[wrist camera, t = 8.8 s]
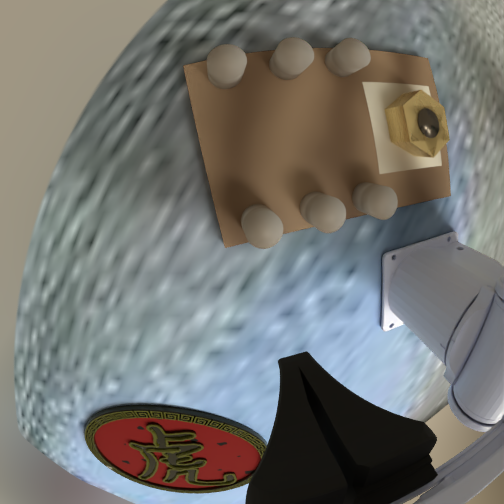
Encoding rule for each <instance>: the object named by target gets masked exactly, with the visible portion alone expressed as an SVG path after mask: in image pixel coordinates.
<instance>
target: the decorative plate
mask: <svg viewBox="0 0 504 504" xmlns="http://www.w3.org/2000/svg"><path fill="white" fill-rule="evenodd" d="M84 436H85V440H86V443H87V446H88V447H89V449H90V451H91V452H92V453H93V454H94V456H95V457H96V458H97V459H98V460H100V462H102V463H103V464H104V465H105V466H107V467H108V468H109V469H111V470H113V471H114V472H116V473H117V474H120V475H121V476H123V477H125V478H127V479H129V480H132V481H134V482H137V483H139V484H142V485H145V486H146V485H147V486H148V487H152V488H156V489H160V490H166V491H171V492H179V493H212V492H220V491H226V490H230V489H234V488H237V487H240V486H243V485H246V484H248V483H249V482H250V480H251V478H252V476H253V474H254V473H255V471H256V469H257V467H258V465H259V463H260V461H261V459H262V456H263V454H264V452H265V449H266V447H267V442H266V441H265V440H264V438H263V437H262V436H260V435H259V434H258V433H256V432H255V431H253V430H252V429H250V428H248V427H246V426H244V425H242V424H240V423H238V422H235V421H233V420H230V419H227V418H224V417H221V416H217V415H214V414H210V413H206V412H201V411H196V410H191V409H185V408H179V407H171V406H161V405H124V406H117V407H112V408H108V409H105V410H102V411H100V412H98V413H96V414H95V415H93V416H92V417H91V418H90V419H89V421H88V422H87V425H86V428H85V432H84Z"/></svg>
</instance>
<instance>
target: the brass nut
mask: <svg viewBox="0 0 504 504" xmlns="http://www.w3.org/2000/svg"><path fill="white" fill-rule="evenodd" d="M384 110H385V115H386V120H387V125H388V130H389V135H390V141H391V143H393V144H395V145H396V146H398V147H400V148H401V149H403V150H405V151H406V152H408V153H410V154H411V155H413V156H417V157H431V158H434V157H435V156H436V155H437V153H438V152H439V151H440V150H441V149H442V148H443V147H444V145H445V144H446V143H447V142H448V141H449V140H450V139H449V132H448V126H447V120H446V115H445V110H444V107H443V106H442V105H441V104H439V103H438V102H437V101H436V100H434V99H433V98H432V97H431V96H429V95H428V94H427V93H425V92H424V91H423V90H417V91H412V92H408V93H404V94H402V95H401V96H399V97H398V98H397V99H396V100H395V101H394V102H392V103H391V104H390V105H389V106H388V107H387V108H385V109H384Z"/></svg>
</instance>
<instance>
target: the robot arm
mask: <svg viewBox="0 0 504 504" xmlns="http://www.w3.org/2000/svg"><path fill="white" fill-rule="evenodd" d="M447 239H448V240H447ZM393 255H394V257H393V259H392V256H393ZM382 268H383V291H382V321H381V329H382V330H383V331H388V330H391V329H393V328H395V327H398V326H400V325H403V324H405V325H406V326H407V327H408V328H409V329H410V330H411V331H412V332H413V333H414V334H415V335H416V336H417V337H418V338H419V339H420V340H421V341H422V342H423V343H424V344H425V345H426V346H427V347H428V348H429V349H430V350H431V351H432V352H433V353H434V354H435V355H436V356H437V357H438V358H439V359H440V360H441V361H442V362H443V363H444V364H445V365H446V371H445V373H444V377H445V378H446V379H447V381H448V382H449V383H450V384H451V385H450V387H449V390H448V402H449V405H450V408H451V410H452V412H453V413H454V415H455V416H456V417H457V419H458V420H459V421H460V422H461V423H463V424H464V425H465V426H467V427H469V428H471V429H473V430H476V431H481V432H486V433H485V434H483V435H482V436H481V437H480V438H478V439H477V440H476V441H475V442H474V443H472V444H471V445H470V446H468V447H467V448H466V449H464V450H463V451H462V452H460V453H459V454H457V455H456V456H455V457H453V458H452V459H450V460H449V461H447V462H446V463H444V464H443V465H441V466H440V467H438V468H436V469H434V467H433V466H432V465H431V462H432V459H431V457H430V455H429V453H430V452H431V450H432V449H433V447H434V445H435V444H436V441H437V437H436V436H435V434H434V433H433V432H432V430H431V429H430V428H429V427H428V426H427V425H426V424H425V423H424V422H421V421H417V420H413V419H409V418H406V417H403V416H400V415H397V414H394V413H391V412H389V411H387V410H385V409H382V408H380V407H378V406H376V405H374V404H372V403H370V402H368V401H366V400H364V399H363V398H361V397H359V396H358V395H356V394H355V393H353V392H352V391H350V390H349V389H347V388H346V387H345V386H343V385H342V384H341V383H339V382H338V381H337V380H336V379H335V378H333V377H332V376H331V375H330V374H329V373H328V372H327V371H325V370H324V369H323V368H322V367H321V366H320V365H319V364H318V363H317V362H316V361H315V359H314V358H313V357H312V356H311V355H310V354H309V353H308V352H303V353H299V354H296V355H292V356H288V357H285V358H281V359H279V360H278V364H279V369H280V392H279V401H278V407H277V413H276V418H275V422H274V426H273V429H272V433H271V436H270V439H269V442H268V444H267V447H266V449H265V452H264V454H263V456H262V459H261V461H260V463H259V465H258V467H257V469H256V471H255V473H254V474H253V476H252V478H251V480H250V482H249V486H248V490H247V495H246V504H403V503H405V502H407V501H409V500H411V499H413V498H414V497H416V496H418V495H420V494H422V493H423V492H425V491H427V490H428V489H430V488H431V489H430V490H428V491H427V492H425V493H424V494H422V495H421V496H420V498H419V499H418V500H417V501H416V502H415V503H413V504H465V503H467V502H468V501H469V500H470V499H472V498H473V497H474V496H476V495H477V494H478V493H479V492H481V491H482V490H483V489H484V488H485V487H486V486H487V485H489V484H490V483H491V482H492V481H493V480H494V479H495V478H497V477H498V476H499V475H500V474H501V473H502V472H503V471H504V267H503V266H502V265H501V264H500V263H499V262H498V261H496V260H495V259H493V258H491V257H489V256H487V255H485V254H482V253H480V252H478V251H476V250H474V249H472V248H470V247H468V246H466V245H463V244H461V243H459V242H458V233H457V232H455V231H453V232H450V233H447V234H444V235H441V236H438V237H434V238H431V239H428V240H425V241H422V242H419V243H416V244H412V245H409V246H406V247H403V248H399V249H396V250H393V251H390V252H387V253H385V254H384V255H383V258H382ZM391 323H392V324H391ZM390 324H391V325H390ZM433 486H434V487H433ZM432 487H433V488H432Z"/></svg>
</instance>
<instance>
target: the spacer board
mask: <svg viewBox="0 0 504 504" xmlns="http://www.w3.org/2000/svg"><path fill="white" fill-rule="evenodd" d="M183 67H184V72H185V77H186V82H187V87H188V92H189V96H190V101H191V106H192V110H193V115H194V120H195V124H196V129H197V133H198V138H199V142H200V146H201V151H202V155H203V159H204V164H205V168H206V172H207V177H208V181H209V185H210V189H211V193H212V197H213V202H214V206H215V210H216V214H217V218H218V222H219V226H220V230H221V234H222V238H223V242H224V246H225V248H227V247H231V246H235V245H239V244H243V243H247V242H249V243H250V244H251V245H253V246H255V247H257V248H261V249H266V248H270V247H272V246H274V245H275V244H277V243H278V242H279V240H280V239H281V237H282V234H285V233H289V232H294V231H298V230H302V229H306V228H311V227H315V228H317V229H318V230H320V231H321V232H324V233H332V232H335V231H337V230H338V229H340V228H341V227H342V225H343V224H344V222H345V219H350V218H354V217H358V216H363V215H367V214H368V215H371V216H373V217H375V218H378V219H381V220H386V219H389V218H390V217H391V216H393V214H394V213H395V211H396V209H397V208H398V207H403V206H407V205H412V204H416V203H421V202H425V201H430V200H434V199H439V198H444V197H448V196H451V193H450V175H449V163H448V154H447V145H446V144H445V145H444V147H443V148H442V149H441V150H440V151H439V152H438V153H437V155H436V156H435V157H434V158H431V157H417V156H413V155H411V154H410V153H408V152H406V151H405V150H403V149H401V148H400V147H398V146H396V145H395V144H393V143H391V141H390V135H389V130H388V125H387V120H386V115H385V110H384V109H385V108H387V107H388V106H389V105H390V104H391V103H392V102H394V101H395V100H396V99H397V98H398V97H399V96H401V95H402V94H404V93H408V92H412V91H417V90H423V91H424V92H425V93H427V94H428V95H429V96H431V97H432V98H433V99H434V100H436V101H437V102H438V103H439V99H438V95H437V90H436V86H435V82H434V78H433V75H432V71H431V68H430V64H429V61H428V58H423V57H418V56H413V55H407V54H400V53H393V52H385V51H375V50H368V48H367V47H366V46H365V45H364V44H363V43H362V42H361V41H359V40H357V39H354V38H346V39H344V40H343V41H342V42H340V43H339V44H338V45H337V46H336V47H334V48H312V47H311V46H310V45H309V44H308V43H307V42H306V41H304V40H302V39H300V38H296V37H290V38H286V39H284V40H282V41H281V42H280V43H279V45H278V47H277V48H276V50H271V51H261V52H253V53H246V54H245V53H244V51H243V50H242V49H240V48H239V47H237V46H234V45H230V44H225V45H220V46H217V47H215V48H214V49H213V50H212V51H211V52H210V53H209V55H208V57H207V60H206V61H201V62H197V63H192V64H188V65H184V66H183Z"/></svg>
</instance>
